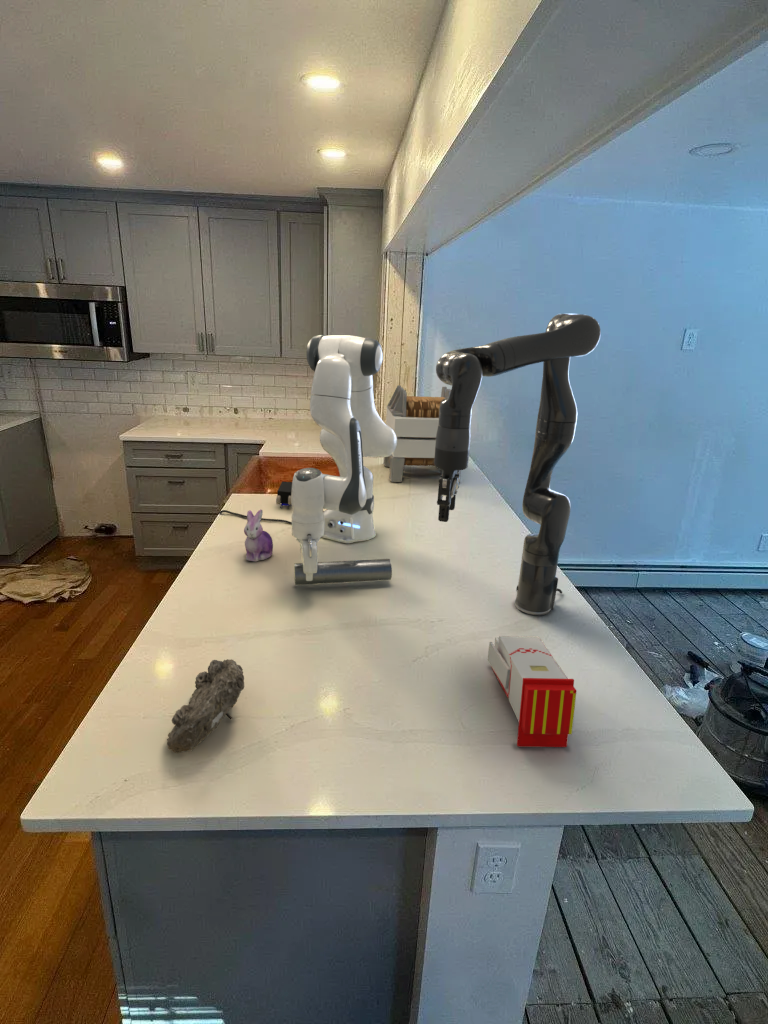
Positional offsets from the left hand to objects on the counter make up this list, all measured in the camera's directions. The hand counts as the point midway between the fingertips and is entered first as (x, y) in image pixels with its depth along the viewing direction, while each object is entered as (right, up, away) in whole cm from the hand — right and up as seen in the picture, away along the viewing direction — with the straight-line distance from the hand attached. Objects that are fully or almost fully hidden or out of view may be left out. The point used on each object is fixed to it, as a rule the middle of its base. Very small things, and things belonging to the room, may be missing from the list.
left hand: (308, 573), depth 159 cm
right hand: (+36, +17, -29) cm, 49 cm away
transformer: (+39, +36, +116) cm, 127 cm away
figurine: (-18, +3, +18) cm, 26 cm away
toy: (+50, -21, -42) cm, 69 cm away
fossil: (-11, -22, -51) cm, 57 cm away
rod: (+10, -2, +3) cm, 10 cm away
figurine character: (-17, +20, +65) cm, 70 cm away
